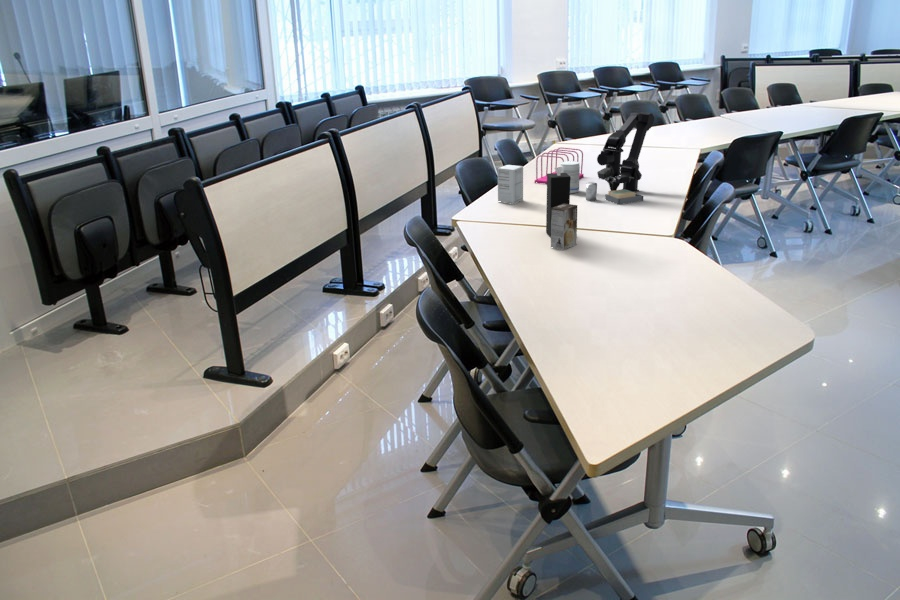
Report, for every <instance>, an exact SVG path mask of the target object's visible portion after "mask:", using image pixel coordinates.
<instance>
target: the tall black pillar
mask: <svg viewBox="0 0 900 600" xmlns="http://www.w3.org/2000/svg"><path fill="white" fill-rule="evenodd" d="M555 170H556V172H557V173H553V172H552V173H551V172H550V173H547V184H546V218H545V219H546V221H545V222H546V223H545V225H546V226H545V228H546V229H545V232H546V234H547V236H548V237H549V238H551V208H553V207H555V206H558V205H561V204H564V203H565V204H571V201H570V200H571V193H570V181H571V177H570V176H569V175H568V174H567V173H561V171H562V167H561V166H559V167H558V166H557V168H556V167H554V171H555Z"/></svg>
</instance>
